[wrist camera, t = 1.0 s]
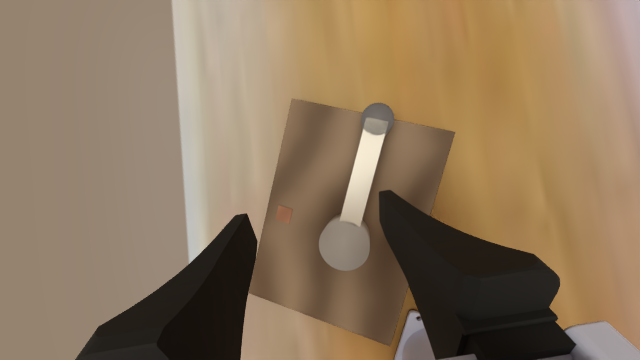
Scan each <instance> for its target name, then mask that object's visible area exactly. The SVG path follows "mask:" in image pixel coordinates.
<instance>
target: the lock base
mask: <svg viewBox="0 0 640 360" xmlns="http://www.w3.org/2000/svg"><path fill="white" fill-rule="evenodd" d="M362 114H363V113H360V112H355V111H350V110H346V109H341V108H336V107H331V106H326V105H321V104H317V103H312V102H307V101H302V100H297V99H292V100H291V105H290V109H289V114H288V118H287V123H286V127H285V132H284V136H283V141H282V145H281V150H280V154H279V159H278V163H277V168H276V172H275V177H274V181H273V186H272V190H271V195H270V199H269V204H268V208H267V213H266V217H265V222H264V226H263V231H262V235H261V240H260V244H259V249H258V253H257V258H256V262H255V267H254V271H253V276H252V280H251V285H250V289H249V293H250V294H253V295H255V296H258V297H261V298H263V299H266V300H269V301H271V302H274V303H277V304H279V305H282V306H284V307H287V308H290V309H292V310H295V311H298V312H300V313H303V314H306V315H308V316H311V317H314V318H316V319H319V320H321V321H324V322H327V323H329V324H332V325H335V326H337V327H340V328H343V329H345V330H348V331H351V332H353V333H356V334H358V335H361V336H364V337H366V338H369V339H372V340H374V341H377V342H380V343H382V344H385V345H388V346H390V345H391V342H392V339H393V335H394V332H395V329H396V325H397V322H398V319H399V316H400V312H401V309H402V306H403V302H404V299H405V296H406V293H407V289H408V286H409V285H408V282H407V280H406V277H405V275H404V273H403V271H402V269H401V267H400V265H399V263H398V261H397V259H396V257H395V255H394V253H393V251H392V250H391V248H390V246H389V244H388V242H387V240H386V238H385V235H384V232H383V230H382V227H381V224H380V221H379V191H385V190H391V191H393V192H394V193H396V194H397V195H398V196H400V197H401V198H403V199H404V200H405V201H407V202H408V203H410V204H411V205H413V206H414V207H416V208H417V209H419V210H421V211H422V212H424V213H426V214H427V215H429V216H430V214H431V210H432V207H433V204H434V200H435V197H436V194H437V191H438V187H439V184H440V181H441V177H442V174H443V171H444V167H445V164H446V161H447V158H448V154H449V151H450V148H451V144H452V141H453V138H454V135H455V132H452V131H447V130H442V129H438V128H433V127H428V126H423V125H418V124H413V123H409V122H404V121H399V120H394V123H393V125H392V127H391V129H390V131H389V132H388V134H387V135H386V136H385V137H384V140H383V144H382V147H381V151H380V155H379V159H378V162H377V166H376V170H375V173H374V177H373V181H372V184H371V188H370V192H369V195H368V199H367V203H366V207H365V210H364V214H363V218H362V220H363V221H364V222H365V223H366V225H367V227H368V229H369V233H370V251H369V255H368V258H367V260H366V261H365V262H364V263H363V264H362V265H361V266H360V267H358V268H357V269H354V270H350V271H342V270H338V269H335V268H333V267H331V266H330V265H329V264H328V263H326V261H325V260H324V259H323V257H322V255H321V253H320V250H319V239H320V235H321V233H322V232H323V230H324V229H325V227H326V226H327V224H328V223H329V221H330V220H331V219H332V218H333V217H335V216H337V215H339V214H341V213H342V209H343V205H344V201H345V198H346V194H347V190H348V186H349V182H350V178H351V175H352V171H353V167H354V163H355V159H356V155H357V151H358V148H359V144H360V140H361V136H362V132H363V129H362V124H361V117H362Z"/></svg>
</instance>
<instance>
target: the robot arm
mask: <svg viewBox="0 0 640 360" xmlns="http://www.w3.org/2000/svg"><path fill="white" fill-rule="evenodd" d="M379 221H380V224H381V227H382V230H383V232H384V235H385V238H386V240H387V242H388V244H389V246H390V248H391V250H392V251H393V253H394V255H395V257H396V259H397V261H398V263H399V265H400V267H401V269H402V271H403V273H404V275H405V277H406V280H407V282H408V285H409V287H410V290H411V292H412V295H413V297H414V300H415V303H416V305H417V308H418V311H419V312H418V311H415V310H411V311H409V313H408V315H407V319H406V322H405V325H404V328H403V332H402V335H401V338H400V341H399V345H398V348H397V351H396V354H395V358H394V360H640V351H639V350H638V349H637V348H636V347H635V346H634V345H633V344H631V343H630V342H629V341H628V340H627V339H626V338H625V337H624V336H622V335H621V334H620V333H619V332H618V331H617V330H616V329H615V328H614V327H612V326H611V325H610V324H609V323H608V322H607V321H597V322H591V323H585V324H578V325H574V326H570V327H568V328H566V329H564V330H563V329H562V328H561V327H560V326H559V325H558V324H557V323H556V322H555V321H557V319H558V318H557V315H556V314H555V313H554V312H553V311H552V310H551V309H550V308H549V306H550V304H551V302H552V301H553V299H554V297H555V295H556V294H557V292H558V289H559V287H560V278H559V277H558V275H557V274H556V273H555V272H554V271H553V270H552V269H550V268H549V267H548V266H547V265H546V264H545V263H544V262H542V261H541V260H540V259H539V258H538V257H537V256H535V255H534V254H531V253H527V252H523V251H520V250H516V249H512V248H508V247H504V246H501V245H498V244H495V243H491V242H488V241H485V240H482V239H480V238H477V237H474V236H472V235H469V234H466V233H464V232H461V231H459V230H457V229H454V228H452V227H450V226H448V225H446V224H444V223H442V222H440V221H438V220H436V219H434V218H433V217H431V216H429V215H427V214H426V213H424V212H422V211H421V210H419V209H417V208H416V207H414V206H413V205H411V204H410V203H408V202H407V201H405V200H404V199H403V198H401V197H400V196H398V195H397V194H396V193H394V192H393V191H391V190H385V191H379ZM256 252H257V239H256V236H255V234H254V231H253V228H252V226H251V223H250V220H249V218H248V215H247V213H246V214H240V215H235V217H234V218H233V219H232V220H231V221H230V222H229V223H228V224H227V225H226V226H225V228H224V229H223V230H222V231H221V232H220V233H219V234H218V235H217V237H216V238H215V239H214V240H213V241H212V242H211V243H210V244H209V245H208V246H207V247H206V248H205V249H204V250H203V251H202V252H201V253H200V254H199V255H198V256H197V257H196V258H195V259H194V260H193V261H192V262H191V263H190V264H189V265H188V266H186V267H185V268H184V269H183V270H182V271H181V272H179V273H178V274H177V275H176V276H175V277H173V278H172V279H171V280H169V281H168V282H167V283H165V284H164V285H163V286H161V287H160V288H159V289H157V290H156V291H155V292H153V293H152V294H150V295H149V296H148V297H146V298H144V299H143V300H141V301H140V302H138V303H137V304H135V305H134V306H132V307H131V308H129V309H128V310H126V311H124V312H122V313H121V314H119V315H118V316H116V317H114V318H113V319H111V320H109V321H108V322H106V323H104V324H102V325H101V326H99V327H98V328H97V330H96V331H95V333H94V334H93V335H92V337H91V338H90V340H89V341H88V342H87V344H86V345H85V347H84V348H83V349H82V351H81V352H80V354H79V355H78V356H77V358H76V359H75V360H240V358H241V345H242V334H243V324H244V316H245V307H246V302H247V296H248V292H249V287H250V283H251V279H252V274H253V270H254V265H255V260H256ZM417 316H420V317H421V318H419V319H417V318H416V317H417Z"/></svg>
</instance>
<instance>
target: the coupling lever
mask: <svg viewBox="0 0 640 360" xmlns="http://www.w3.org/2000/svg"><path fill="white" fill-rule="evenodd" d="M393 123H394V114H393V112H392V110H391V108H390V107H388V106H387V105H385V104H383V103H374V104H371V105H370V106H368V107H367V108H366V109H365V110H364V112H363V114H362V117H361V124H362V129H363V132H362V136H361V140H360V144H359V148H358V151H357V155H356V159H355V163H354V167H353V171H352V175H351V178H350V182H349V186H348V190H347V194H346V198H345V201H344V205H343V209H342V213H341V214H339V215H337V216H335V217H333V218H332V219H331V220H330V221H329V223H328V224H327V226H326V227H325V229H324V230H323V232H322V233H321V235H320V239H319V250H320V253H321V255H322V257H323V259H324V260H325V261H326V263H328V264H329V265H330V266H331V267H333V268H335V269H338V270H342V271H350V270H354V269H357V268H358V267H360V266H361V265H362V264H363V263H364V262H365V261H366V260H367V258H368V255H369V251H370V233H369V229H368V227H367V225H366V223H365V222H364V221H363V220H362V218H363V214H364V210H365V207H366V203H367V199H368V195H369V192H370V188H371V184H372V181H373V177H374V173H375V170H376V166H377V162H378V159H379V155H380V151H381V147H382V144H383V140H384V137H385V136H386V135H387V134H388V132H389V131H390V129H391V127H392V125H393Z"/></svg>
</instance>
